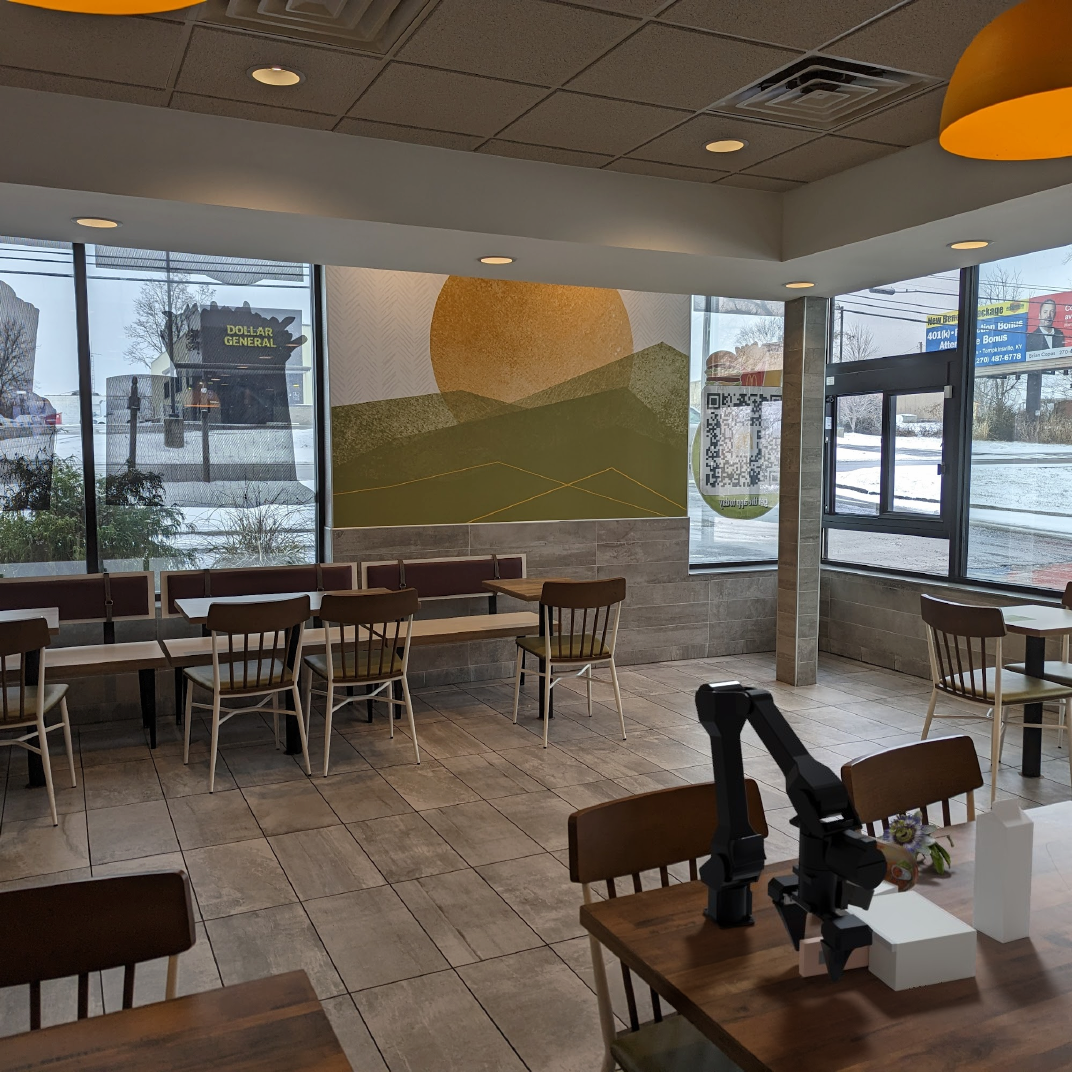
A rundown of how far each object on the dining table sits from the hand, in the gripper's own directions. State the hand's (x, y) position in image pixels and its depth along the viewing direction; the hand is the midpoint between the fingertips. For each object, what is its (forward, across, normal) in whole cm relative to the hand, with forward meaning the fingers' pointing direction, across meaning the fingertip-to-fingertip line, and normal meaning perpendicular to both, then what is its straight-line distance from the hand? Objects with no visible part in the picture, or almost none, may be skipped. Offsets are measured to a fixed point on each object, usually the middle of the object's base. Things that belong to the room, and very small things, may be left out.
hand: (816, 965), depth 141 cm
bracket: (+2, +18, -20) cm, 27 cm away
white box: (+2, 0, -16) cm, 16 cm away
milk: (+2, +3, -36) cm, 37 cm away
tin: (+2, +24, -28) cm, 37 cm away
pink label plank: (+1, 0, -8) cm, 9 cm away
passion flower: (+2, +30, -42) cm, 51 cm away
